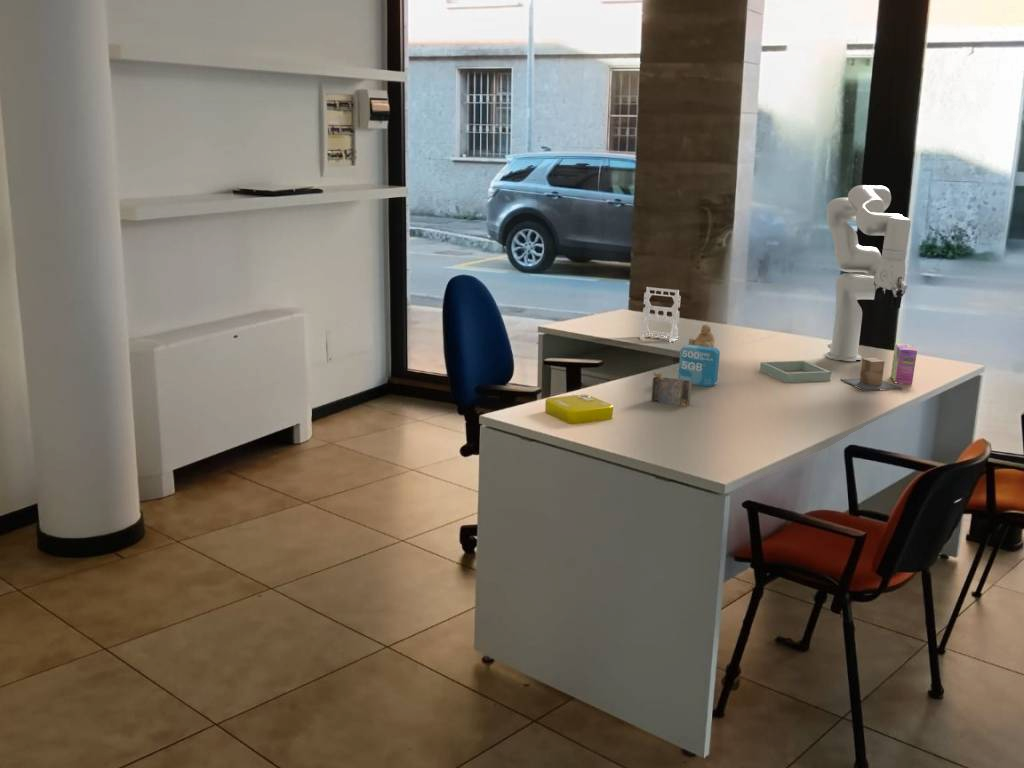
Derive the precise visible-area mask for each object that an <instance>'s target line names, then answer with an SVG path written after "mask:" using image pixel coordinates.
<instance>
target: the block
mask: <svg viewBox="0 0 1024 768" xmlns="http://www.w3.org/2000/svg"><path fill="white" fill-rule="evenodd" d="M884 370H885V361H884V360H882V359H879V358H877V357H867V358H865V357H864V358H862V359H861V367H860V376H859V378H860V382H861V383H864V384H866V385H882V380H883V377H884Z"/></svg>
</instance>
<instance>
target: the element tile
mask: <svg viewBox="0 0 1024 768" xmlns="http://www.w3.org/2000/svg"><path fill="white" fill-rule="evenodd" d="M544 407H545V410H544V413H545V414H547V415H548V416H551V417H554V418H555V419H557V420H559V421H562V422H563V423H566V424H569V425H581V424H590V423H596V422H597V423H598V422H604V421H605V422H606V421H611V420H613V411H614V406H613V404H611V403H609V402H606V401H604V400H601V399H599V398H596V397H594V396H592V395H590V394H586V393H584V394H583V393H582V394H573V395H565V396H564V395H563V396H557V397H548V398H546V399H545V405H544Z"/></svg>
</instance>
